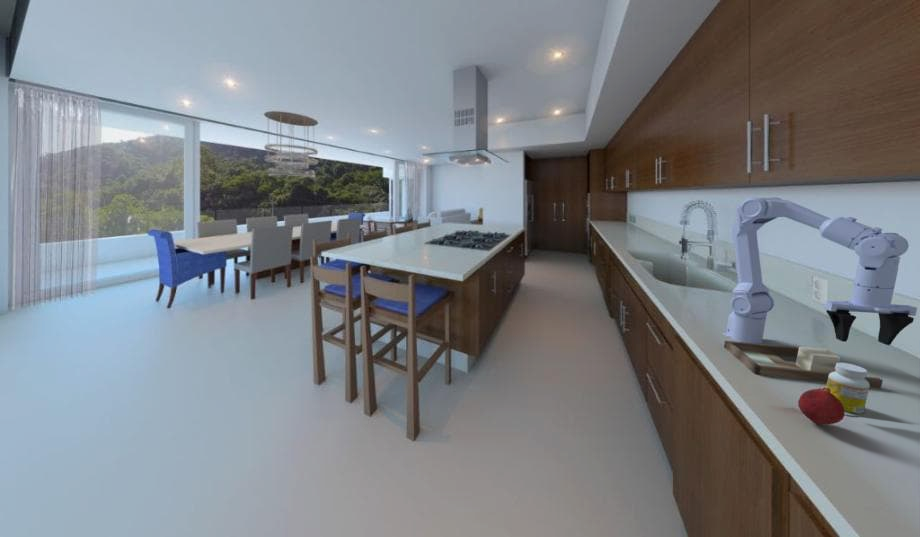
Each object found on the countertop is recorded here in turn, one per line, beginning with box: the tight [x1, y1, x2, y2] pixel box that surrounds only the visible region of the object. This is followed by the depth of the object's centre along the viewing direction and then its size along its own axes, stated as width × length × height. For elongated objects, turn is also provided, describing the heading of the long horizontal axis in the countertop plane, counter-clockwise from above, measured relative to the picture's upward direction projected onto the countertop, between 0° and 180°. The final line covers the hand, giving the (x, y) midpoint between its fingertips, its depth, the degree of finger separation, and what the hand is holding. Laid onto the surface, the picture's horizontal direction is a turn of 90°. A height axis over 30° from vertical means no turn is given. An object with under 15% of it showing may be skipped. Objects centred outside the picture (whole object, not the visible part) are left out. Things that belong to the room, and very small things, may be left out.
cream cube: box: [796, 346, 841, 373], centre depth 79 cm, size 5×5×5 cm
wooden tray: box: [723, 340, 883, 389], centre depth 82 cm, size 16×23×3 cm
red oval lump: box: [797, 386, 845, 426], centre depth 61 cm, size 6×6×8 cm
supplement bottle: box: [825, 362, 871, 418], centre depth 65 cm, size 5×5×10 cm
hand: (862, 341), depth 75 cm, fingers open, 7 cm apart
